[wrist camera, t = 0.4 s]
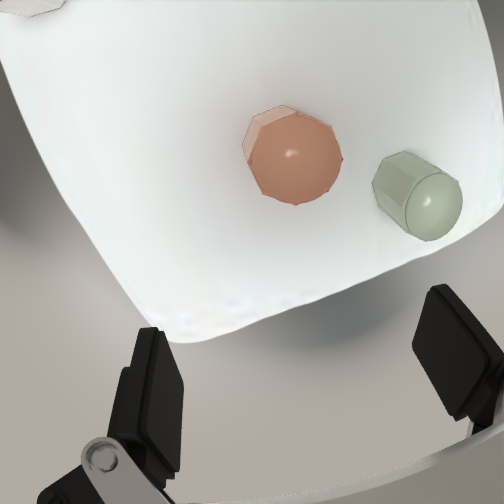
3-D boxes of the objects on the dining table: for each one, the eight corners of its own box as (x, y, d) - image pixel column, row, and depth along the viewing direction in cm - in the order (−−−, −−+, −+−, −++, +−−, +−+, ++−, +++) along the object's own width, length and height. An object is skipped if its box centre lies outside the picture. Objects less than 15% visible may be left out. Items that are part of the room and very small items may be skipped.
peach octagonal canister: (300, 97, 29) (323, 102, 22) (326, 161, 33) (353, 184, 26) (232, 126, 30) (235, 139, 24) (263, 188, 34) (273, 218, 27)
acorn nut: (419, 144, 32) (459, 163, 26) (429, 198, 36) (465, 225, 29) (366, 165, 34) (400, 189, 27) (381, 220, 37) (412, 252, 30)
